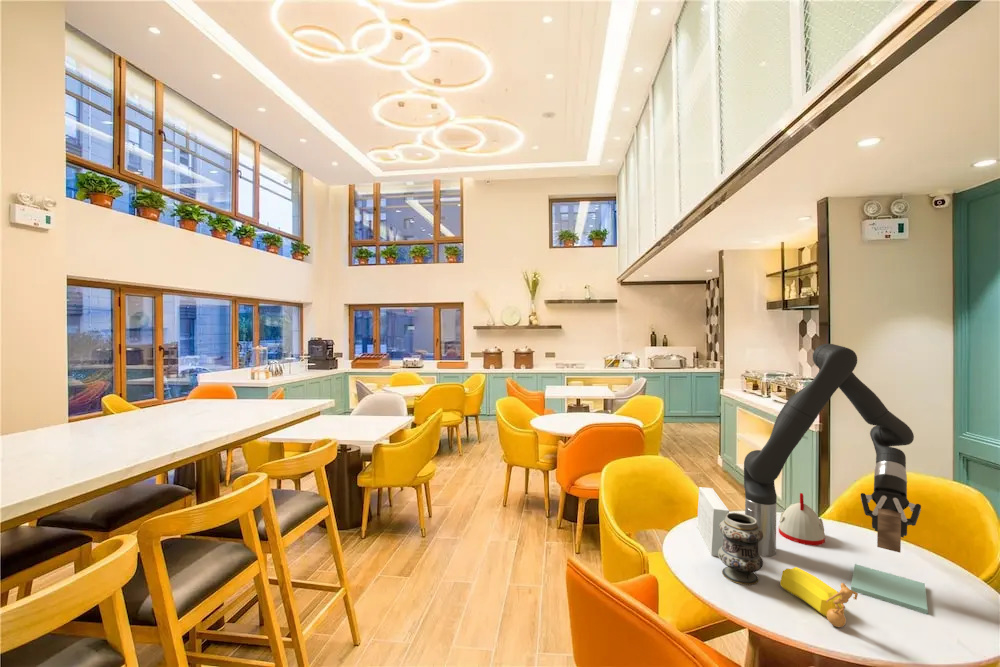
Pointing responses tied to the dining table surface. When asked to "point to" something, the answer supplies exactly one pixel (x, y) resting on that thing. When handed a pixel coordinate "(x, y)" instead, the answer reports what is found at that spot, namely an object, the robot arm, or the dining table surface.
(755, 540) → the apothecary jar
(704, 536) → the skincare box
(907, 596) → the teal board
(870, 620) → the dining table surface
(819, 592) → the yellow faceted bar
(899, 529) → the walnut block
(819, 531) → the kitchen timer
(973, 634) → the dining table surface
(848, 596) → the figurine
